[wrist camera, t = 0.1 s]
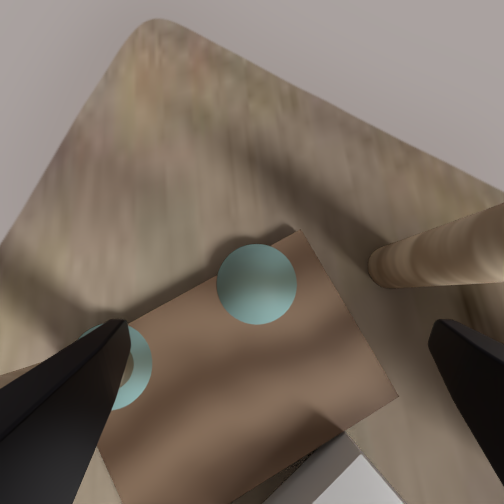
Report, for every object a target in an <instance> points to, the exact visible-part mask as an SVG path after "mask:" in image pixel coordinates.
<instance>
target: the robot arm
mask: <svg viewBox="0 0 504 504" xmlns="http://www.w3.org/2000/svg"><path fill="white" fill-rule="evenodd" d="M428 347H429V350H430V352H431V355H432V357H433V359H434V361H435V363H436V365H437V367H438V370H439V372H440V374H441V376H442V378H443V380H444V383H445V385H446V387H447V389H448V391H449V393H450V395H451V397H452V399H453V401H454V403H455V404H456V406H457V408H458V410H459V411H460V413H461V415H462V416H463V418H464V420H465V422H466V423H467V425H468V427H469V428H470V430H471V432H472V433H473V435H474V437H475V439H476V440H477V442H478V444H479V445H480V447H481V449H482V450H483V452H484V454H485V456H486V457H487V459H488V461H489V462H490V464H491V466H492V468H493V469H494V471H495V473H496V474H497V476H498V478H499V479H500V481H501V483H502V485H503V486H504V344H502V343H500V342H498V341H496V340H494V339H492V338H490V337H488V336H486V335H484V334H481V333H479V332H477V331H475V330H473V329H471V328H469V327H467V326H465V325H463V324H461V323H459V322H457V321H454V320H451V319H438V320H436V321H435V323H434V325H433V328H432V331H431V334H430V337H429V341H428ZM130 350H131V338H130V333H129V328H128V323H127V321H126V320H125V319H111V320H109V321H107V322H106V323H104V324H102V325H101V326H99V327H98V328H96V329H94V330H93V331H91V332H90V333H88V334H86V335H85V336H83V337H82V338H80V339H78V340H77V341H75V342H74V343H72V344H71V345H69V346H67V347H66V348H64V349H63V350H61V351H59V352H58V353H56V354H55V355H53V356H51V357H50V358H48V359H47V360H45V361H43V362H42V363H40V364H39V365H37V366H36V367H34V368H32V369H31V370H29V371H28V372H26V373H24V374H23V375H21V376H20V377H18V378H16V379H15V380H13V381H12V382H10V383H8V384H7V385H5V386H4V387H2V388H0V504H72V503H73V501H74V499H75V496H76V494H77V491H78V489H79V487H80V484H81V482H82V479H83V477H84V475H85V472H86V470H87V467H88V465H89V463H90V460H91V458H92V456H93V453H94V451H95V448H96V446H97V444H98V441H99V439H100V436H101V434H102V432H103V429H104V427H105V425H106V422H107V420H108V417H109V415H110V413H111V410H112V408H113V405H114V403H115V400H116V397H117V394H118V391H119V387H120V384H121V381H122V377H123V374H124V370H125V367H126V364H127V360H128V357H129V354H130Z"/></svg>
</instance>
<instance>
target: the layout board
mask: <svg viewBox="0 0 504 504" xmlns="http://www.w3.org/2000/svg"><path fill="white" fill-rule="evenodd" d="M101 325H102V324H100V325H97V326H95V327H93V328H91V329H89V330H88V331H86V332H85V333H84V334H82V335H81V337H80V338H82V337H83V336H85V335H86V334H88V333H90V332H91V331H93V330H94V329H96V328H98V327H99V326H101ZM128 328H129V333H130V338H131V350H130V352H131V354H132V356H133V361H134V367H133V372H132V375H131V377H130V379H129V380H128V381H127V382H126V384H124V385H123V386H122V387H121V388H119V391H118V394H117V397H116V400H115V403H114V405H113V408H112V410H111V413H110V415H109V417H108V420H107V422H106V425H105V427H104V429H103V432H102V434H101V436H100V439H99V441H98V444H97V447H98V449H99V451H100V454H101V456H102V458H103V460H104V462H105V465H106V467H107V469H108V471H109V474H110V476H111V478H112V480H113V482H114V485H115V487H116V489H117V491H118V493H119V496H120V498H121V500H122V502H123V504H229V503H231V502H233V501H234V500H236V499H237V498H239V497H241V496H242V495H244V494H245V493H247V492H248V491H250V490H252V489H253V488H255V487H256V486H258V485H260V484H261V483H263V482H264V481H266V480H267V479H269V478H271V477H272V476H274V475H275V474H277V473H279V472H280V471H282V470H283V469H285V468H287V467H288V466H290V465H291V464H293V463H294V462H296V461H298V460H299V459H301V458H302V457H304V456H306V455H307V454H309V453H310V452H312V451H313V450H315V449H317V448H318V447H320V446H321V445H323V444H325V443H326V442H328V441H329V440H331V439H332V438H334V437H336V436H337V435H339V434H340V433H342V432H344V431H345V430H347V429H348V428H350V427H352V426H353V425H355V424H356V423H358V422H359V421H361V420H363V419H364V418H366V417H367V416H369V415H371V414H372V413H374V412H375V411H377V410H378V409H380V408H382V407H383V406H385V405H386V404H388V403H390V402H391V401H393V400H394V399H396V398H397V397H399V395H398V394H397V392H396V390H395V388H394V387H393V385H392V383H391V382H390V380H389V378H388V377H387V375H386V373H385V372H384V370H383V368H382V366H381V365H380V363H379V361H378V360H377V358H376V356H375V355H374V353H373V351H372V349H371V348H370V346H369V344H368V343H367V341H366V339H365V338H364V336H363V334H362V332H361V331H360V329H359V327H358V326H357V324H356V322H355V321H354V319H353V317H352V316H351V314H350V312H349V310H348V309H347V307H346V305H345V304H344V302H343V300H342V299H341V297H340V295H339V293H338V292H337V290H336V288H335V287H334V285H333V283H332V282H331V280H330V278H329V276H328V275H327V273H326V271H325V270H324V268H323V266H322V265H321V263H320V261H319V260H318V258H317V256H316V254H315V253H314V251H313V249H312V248H311V246H310V244H309V243H308V241H307V239H306V237H305V236H304V234H303V232H302V231H301V229H300V230H298V231H297V232H295V233H293V234H291V235H289V236H287V237H286V238H284V239H282V240H280V241H278V242H276V243H275V244H273V245H271V246H268V245H263V244H250V245H246V246H243V247H240V248H238V249H236V250H235V251H233V252H232V253H231V254H230V255H229V256H228V257H227V258H226V259H225V260H224V262H223V263H222V265H221V267H220V269H219V272H218V275H216V276H214V277H213V278H211V279H209V280H207V281H205V282H203V283H202V284H200V285H198V286H196V287H194V288H192V289H191V290H189V291H187V292H185V293H183V294H182V295H180V296H178V297H176V298H174V299H172V300H171V301H169V302H167V303H165V304H163V305H161V306H160V307H158V308H156V309H154V310H152V311H151V312H149V313H147V314H145V315H143V316H141V317H140V318H138V319H136V320H134V321H132V322H130V323H129V324H128ZM80 338H79V339H80Z"/></svg>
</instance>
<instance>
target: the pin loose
mask: <svg viewBox="0 0 504 504" xmlns="http://www.w3.org/2000/svg"><path fill="white" fill-rule="evenodd" d="M368 271H369V274H370V276H371V278H372V279H373V281H374V282H375V283H376V284H378V285H379V286H381V287H384V288H389V289H391V288H409V287H426V286H443V285H461V284H478V283H495V282H504V203H502V204H499V205H497V206H494V207H491V208H488V209H486V210H483V211H480V212H477V213H475V214H472V215H469V216H466V217H464V218H461V219H458V220H455V221H453V222H450V223H447V224H444V225H442V226H439V227H436V228H433V229H430V230H428V231H425V232H422V233H419V234H417V235H414V236H411V237H408V238H406V239H403V240H400V241H397V242H395V243H392V244H389V245H386V246H384V247H381V248H379V249H377V250H375V251H374V252H373V253H372V255H371V256H370V258H369V261H368Z"/></svg>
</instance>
